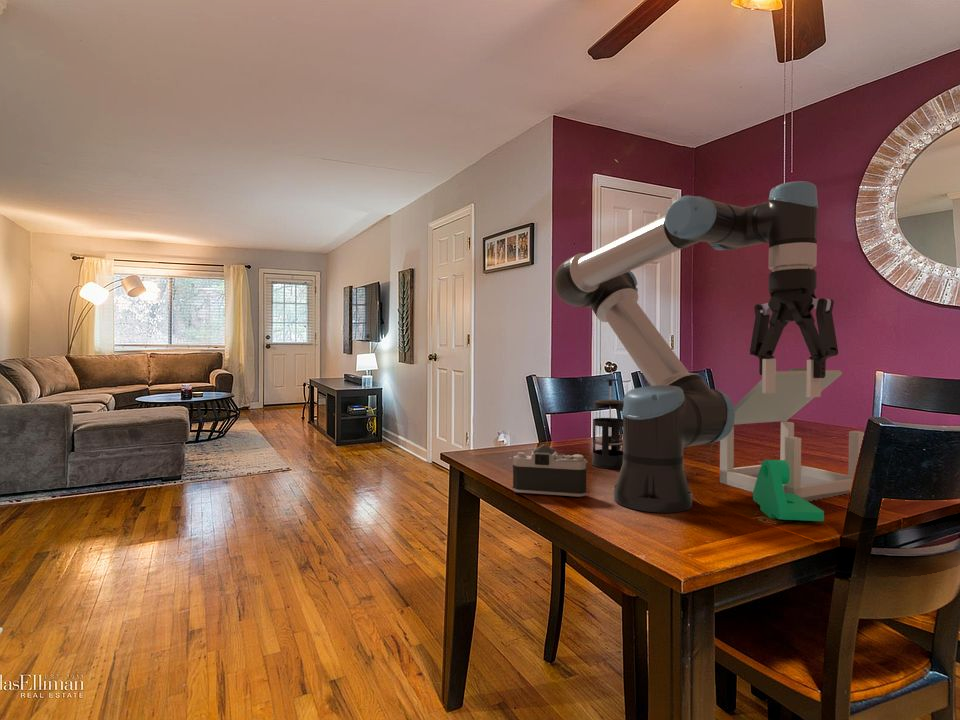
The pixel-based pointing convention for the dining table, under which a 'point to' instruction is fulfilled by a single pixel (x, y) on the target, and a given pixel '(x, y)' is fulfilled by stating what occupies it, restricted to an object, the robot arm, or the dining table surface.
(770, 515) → the camera mount
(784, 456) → the frame
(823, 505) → the dining table surface
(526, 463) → the camera
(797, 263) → the robot arm
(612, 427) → the french press
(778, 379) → the lid
